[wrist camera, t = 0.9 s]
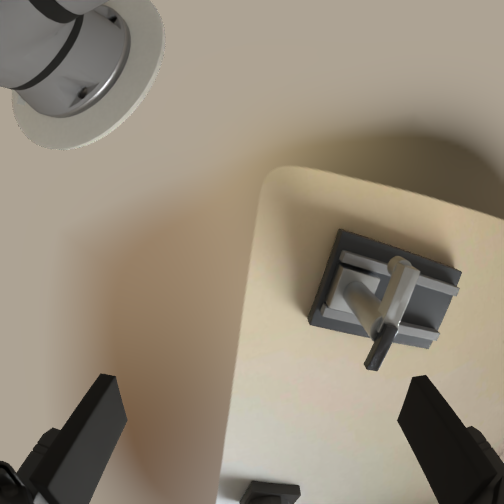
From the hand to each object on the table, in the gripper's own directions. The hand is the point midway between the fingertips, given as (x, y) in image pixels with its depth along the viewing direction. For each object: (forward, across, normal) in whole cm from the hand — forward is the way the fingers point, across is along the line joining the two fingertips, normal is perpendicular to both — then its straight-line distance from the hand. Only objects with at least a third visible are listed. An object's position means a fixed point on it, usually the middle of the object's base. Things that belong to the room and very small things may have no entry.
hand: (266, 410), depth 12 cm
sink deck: (+20, +14, -2) cm, 24 cm away
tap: (+18, +9, 0) cm, 20 cm away
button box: (+20, +3, -39) cm, 44 cm away
